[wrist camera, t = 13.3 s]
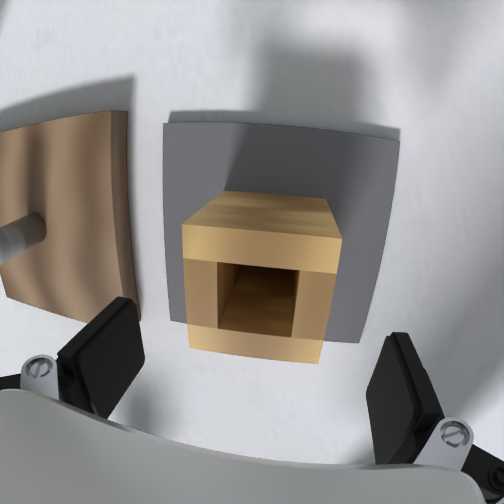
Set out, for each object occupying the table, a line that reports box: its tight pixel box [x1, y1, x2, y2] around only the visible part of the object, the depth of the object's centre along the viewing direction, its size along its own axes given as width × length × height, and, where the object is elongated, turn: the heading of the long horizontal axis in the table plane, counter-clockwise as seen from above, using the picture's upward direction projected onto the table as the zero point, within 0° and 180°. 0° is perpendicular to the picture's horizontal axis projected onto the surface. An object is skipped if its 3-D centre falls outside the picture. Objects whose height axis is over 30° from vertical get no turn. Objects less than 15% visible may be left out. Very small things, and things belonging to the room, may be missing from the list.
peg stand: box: [0, 110, 141, 323], centre depth 18 cm, size 16×16×7 cm
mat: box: [163, 122, 400, 343], centre depth 19 cm, size 14×14×1 cm
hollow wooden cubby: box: [182, 191, 342, 364], centre depth 15 cm, size 6×6×7 cm
